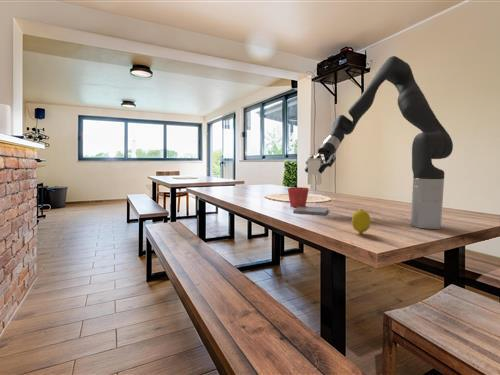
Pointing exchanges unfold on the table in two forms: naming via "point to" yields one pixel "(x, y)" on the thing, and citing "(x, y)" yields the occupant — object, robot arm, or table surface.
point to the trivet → (310, 210)
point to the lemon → (361, 221)
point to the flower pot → (298, 196)
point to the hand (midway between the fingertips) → (312, 171)
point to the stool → (314, 169)
